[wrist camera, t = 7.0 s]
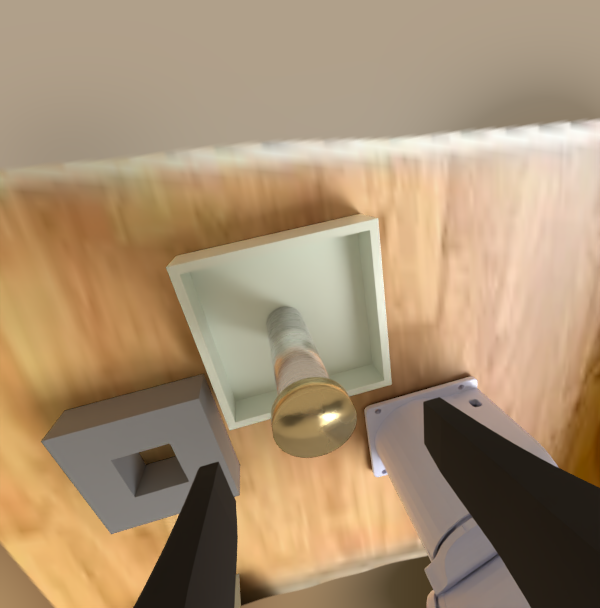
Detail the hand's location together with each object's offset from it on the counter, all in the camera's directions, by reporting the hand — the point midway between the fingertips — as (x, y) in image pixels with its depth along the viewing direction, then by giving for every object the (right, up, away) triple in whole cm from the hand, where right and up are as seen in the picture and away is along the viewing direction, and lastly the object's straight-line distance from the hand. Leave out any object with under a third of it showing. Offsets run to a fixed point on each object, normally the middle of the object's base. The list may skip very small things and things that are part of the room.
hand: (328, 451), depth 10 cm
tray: (-2, +4, +9) cm, 10 cm away
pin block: (-11, -5, +11) cm, 16 cm away
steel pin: (-2, +4, +9) cm, 10 cm away
